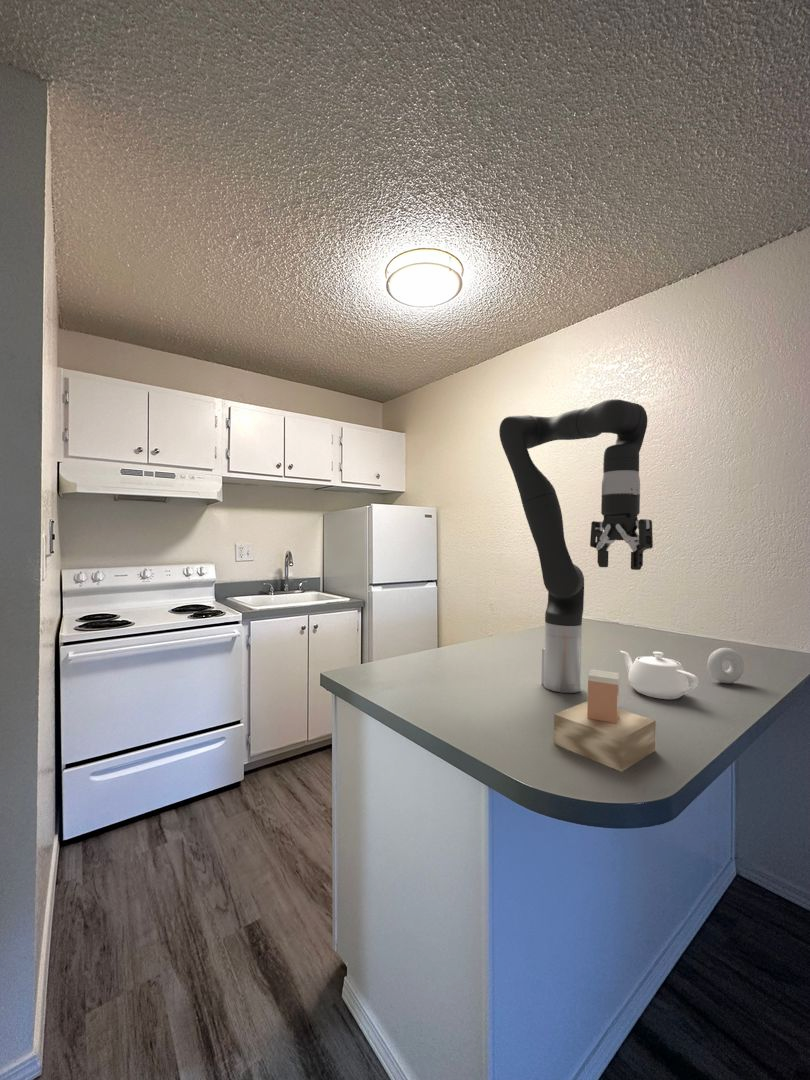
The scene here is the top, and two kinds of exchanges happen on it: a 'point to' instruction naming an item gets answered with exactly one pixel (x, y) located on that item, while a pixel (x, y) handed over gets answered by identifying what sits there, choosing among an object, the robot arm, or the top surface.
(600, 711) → the cube
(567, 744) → the pine box
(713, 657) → the donut
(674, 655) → the top surface
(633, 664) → the teapot
